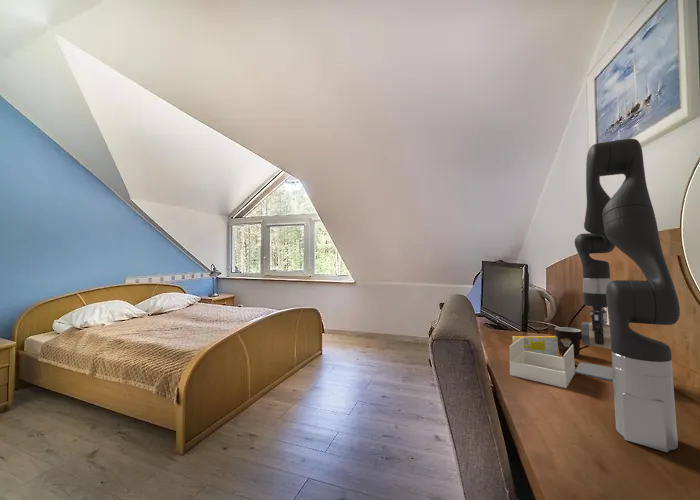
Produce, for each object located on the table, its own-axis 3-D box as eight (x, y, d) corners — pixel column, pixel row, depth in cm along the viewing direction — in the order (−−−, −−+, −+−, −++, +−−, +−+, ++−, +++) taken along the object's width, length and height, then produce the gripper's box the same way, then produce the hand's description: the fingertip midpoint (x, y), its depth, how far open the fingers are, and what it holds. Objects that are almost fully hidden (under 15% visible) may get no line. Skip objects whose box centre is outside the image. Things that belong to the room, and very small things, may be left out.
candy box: (556, 357, 114) (555, 335, 114) (559, 358, 112) (558, 337, 112) (513, 356, 116) (512, 335, 116) (515, 358, 113) (514, 337, 114)
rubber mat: (628, 384, 87) (628, 382, 88) (574, 373, 97) (574, 371, 97) (629, 372, 97) (629, 370, 97) (580, 363, 106) (580, 362, 106)
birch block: (618, 349, 92) (616, 327, 93) (582, 344, 99) (581, 324, 99) (618, 346, 96) (617, 325, 96) (584, 341, 102) (583, 321, 102)
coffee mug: (550, 352, 119) (549, 328, 120) (565, 350, 122) (564, 326, 122) (580, 361, 108) (579, 334, 109) (596, 358, 111) (595, 332, 111)
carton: (566, 388, 86) (564, 355, 86) (510, 375, 97) (508, 346, 97) (575, 373, 97) (573, 344, 98) (524, 362, 108) (522, 337, 108)
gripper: (610, 294, 90) (613, 349, 90) (613, 290, 100) (616, 340, 100) (579, 292, 96) (583, 345, 95) (585, 289, 106) (588, 336, 105)
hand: (600, 342), depth 97 cm, fingers closed on birch block, 4 cm apart
